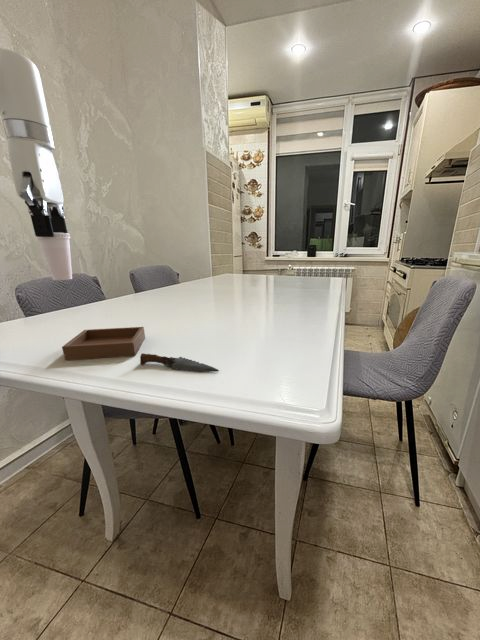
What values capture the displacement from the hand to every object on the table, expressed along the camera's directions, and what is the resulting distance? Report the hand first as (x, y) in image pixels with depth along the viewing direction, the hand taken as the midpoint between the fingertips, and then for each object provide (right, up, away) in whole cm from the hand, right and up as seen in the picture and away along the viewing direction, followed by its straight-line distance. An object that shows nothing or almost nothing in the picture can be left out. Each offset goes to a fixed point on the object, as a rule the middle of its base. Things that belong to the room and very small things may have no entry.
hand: (53, 236), depth 63 cm
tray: (+10, -24, +4) cm, 26 cm away
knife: (+29, -28, -6) cm, 41 cm away
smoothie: (0, -9, +3) cm, 9 cm away
